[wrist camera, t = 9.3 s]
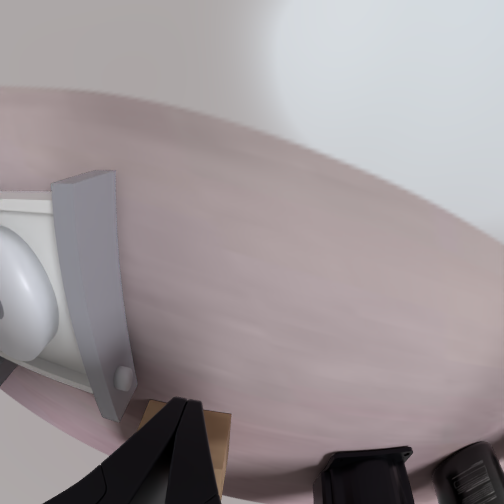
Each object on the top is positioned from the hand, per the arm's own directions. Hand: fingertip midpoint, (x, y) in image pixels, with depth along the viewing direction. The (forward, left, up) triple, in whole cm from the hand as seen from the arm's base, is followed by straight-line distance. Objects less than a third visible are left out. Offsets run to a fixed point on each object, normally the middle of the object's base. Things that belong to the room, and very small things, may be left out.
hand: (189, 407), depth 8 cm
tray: (+10, 0, -5) cm, 12 cm away
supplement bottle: (-23, +16, -6) cm, 29 cm away
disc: (+11, 0, -4) cm, 12 cm away
